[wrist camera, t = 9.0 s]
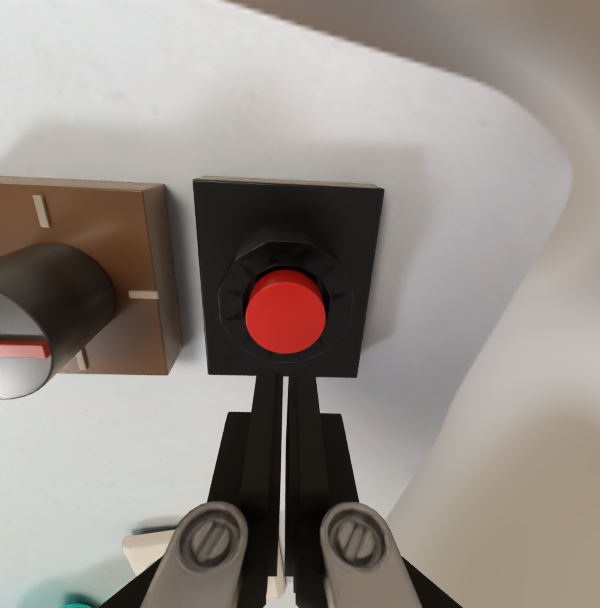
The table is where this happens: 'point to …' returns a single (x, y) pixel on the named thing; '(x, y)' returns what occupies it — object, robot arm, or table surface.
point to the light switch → (154, 545)
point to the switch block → (285, 265)
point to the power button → (285, 312)
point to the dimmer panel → (107, 262)
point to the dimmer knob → (47, 313)
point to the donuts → (75, 606)
